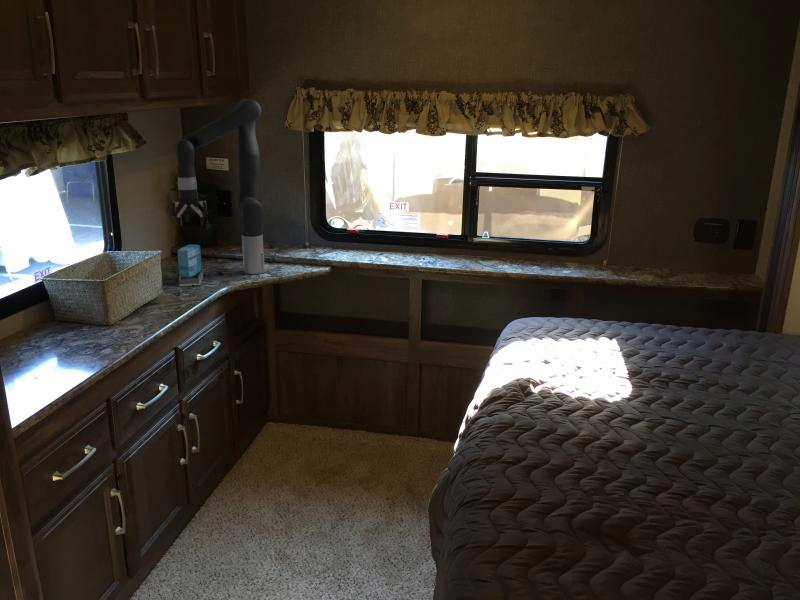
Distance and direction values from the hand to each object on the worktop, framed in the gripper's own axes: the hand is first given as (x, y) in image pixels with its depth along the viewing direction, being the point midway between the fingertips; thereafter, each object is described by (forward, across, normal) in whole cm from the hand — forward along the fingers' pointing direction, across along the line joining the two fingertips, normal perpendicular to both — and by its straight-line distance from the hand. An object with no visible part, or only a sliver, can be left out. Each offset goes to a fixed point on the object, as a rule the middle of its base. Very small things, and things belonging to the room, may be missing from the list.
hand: (191, 225), depth 291 cm
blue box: (+20, +1, +4) cm, 21 cm away
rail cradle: (+23, +1, +4) cm, 24 cm away
